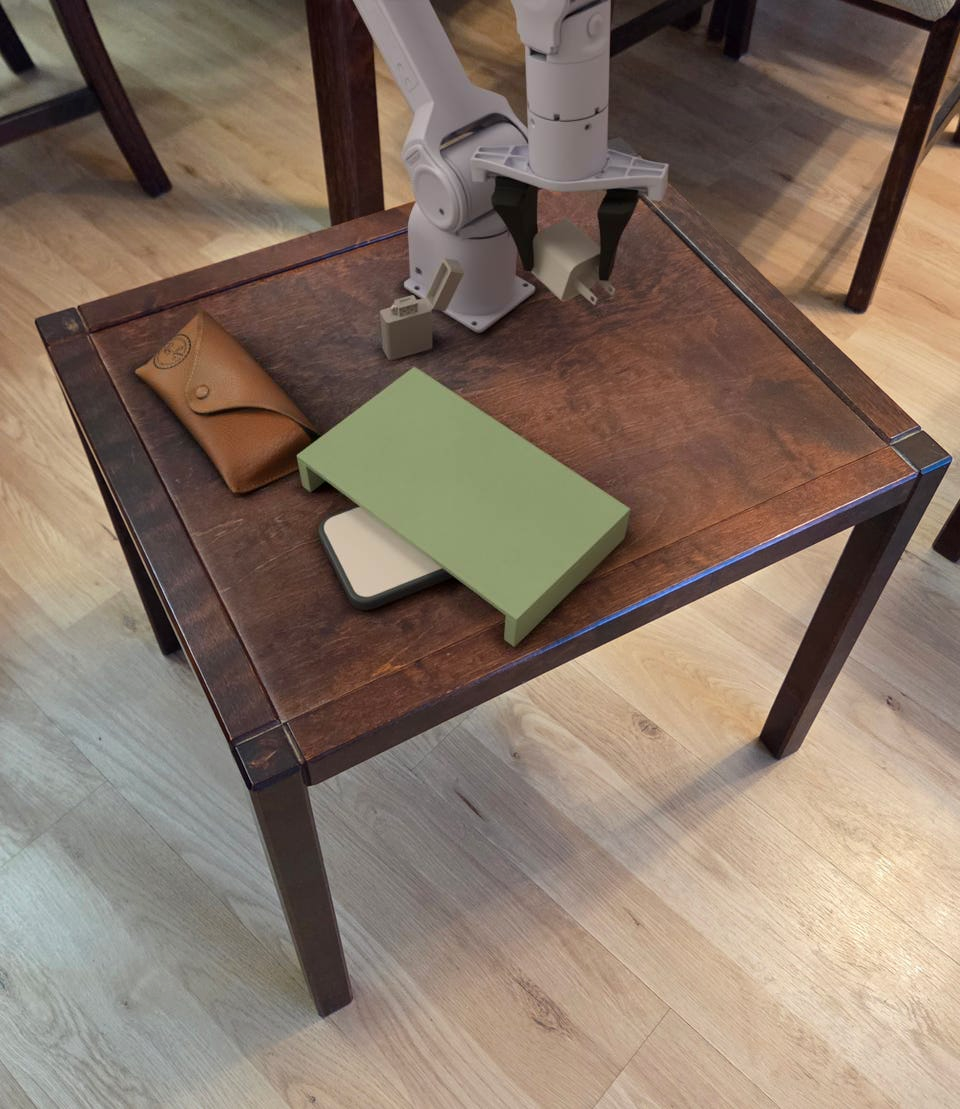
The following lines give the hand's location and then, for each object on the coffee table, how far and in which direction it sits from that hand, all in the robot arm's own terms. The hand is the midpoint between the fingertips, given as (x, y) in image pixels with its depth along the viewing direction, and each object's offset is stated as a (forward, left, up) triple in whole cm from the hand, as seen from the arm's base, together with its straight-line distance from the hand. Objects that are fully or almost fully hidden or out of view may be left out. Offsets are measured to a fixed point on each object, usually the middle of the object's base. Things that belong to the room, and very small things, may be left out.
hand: (568, 269), depth 84 cm
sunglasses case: (-16, -24, -10) cm, 31 cm away
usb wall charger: (0, 0, -2) cm, 2 cm away
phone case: (+5, -22, -10) cm, 24 cm away
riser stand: (+5, -18, -10) cm, 21 cm away
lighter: (-10, -7, -10) cm, 15 cm away
